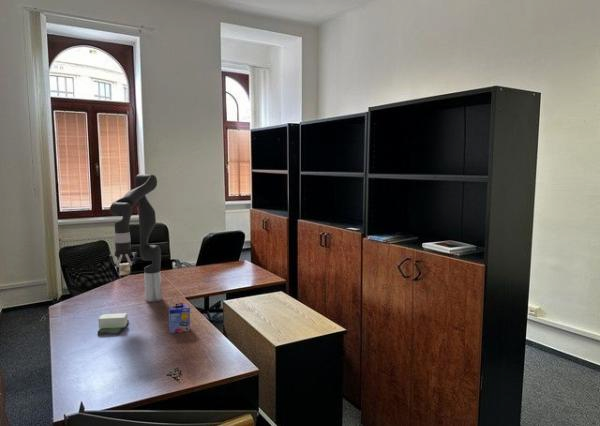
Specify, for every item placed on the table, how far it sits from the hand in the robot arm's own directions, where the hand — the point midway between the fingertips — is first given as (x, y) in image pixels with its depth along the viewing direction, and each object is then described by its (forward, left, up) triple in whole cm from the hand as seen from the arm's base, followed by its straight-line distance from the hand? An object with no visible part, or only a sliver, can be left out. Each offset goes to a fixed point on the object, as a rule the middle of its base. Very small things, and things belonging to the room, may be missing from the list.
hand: (124, 272), depth 222 cm
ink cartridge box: (-21, +29, -25) cm, 44 cm away
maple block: (0, 0, 0) cm, 0 cm away
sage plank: (+8, +11, -23) cm, 27 cm away
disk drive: (+8, +12, -26) cm, 30 cm away
